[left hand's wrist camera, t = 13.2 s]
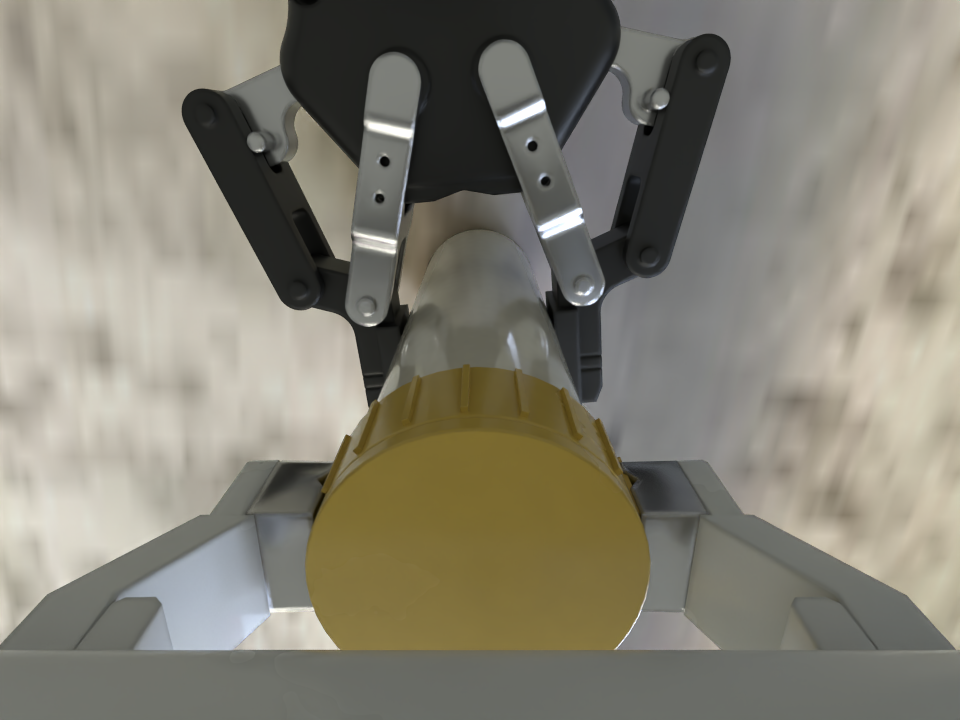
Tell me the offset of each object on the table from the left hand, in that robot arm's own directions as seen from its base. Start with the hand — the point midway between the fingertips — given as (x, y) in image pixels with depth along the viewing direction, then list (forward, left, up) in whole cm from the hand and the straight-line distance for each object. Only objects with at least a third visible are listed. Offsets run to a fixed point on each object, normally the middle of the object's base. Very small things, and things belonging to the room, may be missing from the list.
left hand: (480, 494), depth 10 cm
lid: (0, 0, +2) cm, 2 cm away
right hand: (0, +3, -8) cm, 9 cm away
